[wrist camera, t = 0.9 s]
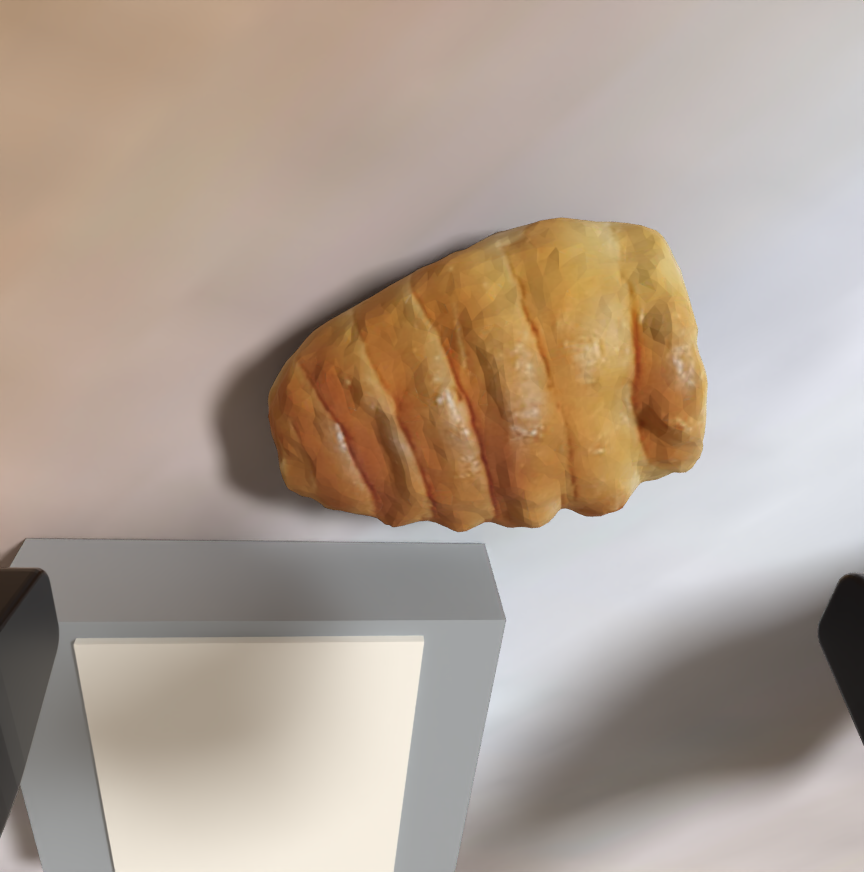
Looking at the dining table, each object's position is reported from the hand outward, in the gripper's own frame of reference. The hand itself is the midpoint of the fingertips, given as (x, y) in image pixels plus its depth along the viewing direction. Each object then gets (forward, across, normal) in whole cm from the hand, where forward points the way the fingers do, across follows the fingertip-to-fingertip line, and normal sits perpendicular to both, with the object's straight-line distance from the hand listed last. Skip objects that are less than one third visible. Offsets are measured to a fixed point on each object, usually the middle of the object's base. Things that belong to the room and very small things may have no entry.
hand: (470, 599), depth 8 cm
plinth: (+10, +3, +13) cm, 17 cm away
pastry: (+11, +1, 0) cm, 11 cm away
